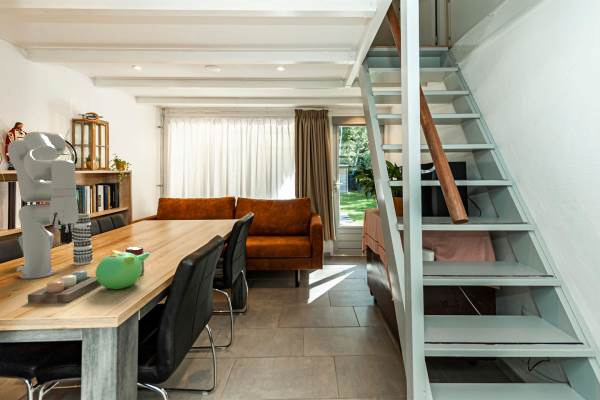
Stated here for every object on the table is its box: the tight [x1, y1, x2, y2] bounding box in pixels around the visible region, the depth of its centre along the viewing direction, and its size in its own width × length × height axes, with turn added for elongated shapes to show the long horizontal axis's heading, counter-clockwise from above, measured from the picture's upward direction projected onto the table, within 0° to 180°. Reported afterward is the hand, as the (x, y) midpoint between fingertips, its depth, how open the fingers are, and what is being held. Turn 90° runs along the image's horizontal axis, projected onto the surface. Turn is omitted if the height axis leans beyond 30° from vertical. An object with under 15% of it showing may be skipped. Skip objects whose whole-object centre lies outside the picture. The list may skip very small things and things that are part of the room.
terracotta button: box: [46, 279, 64, 294], centre depth 125 cm, size 5×5×4 cm
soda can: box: [124, 246, 145, 276], centre depth 155 cm, size 7×7×12 cm
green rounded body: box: [95, 249, 151, 290], centre depth 137 cm, size 18×17×15 cm
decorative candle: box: [72, 213, 94, 266], centre depth 178 cm, size 9×9×25 cm
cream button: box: [59, 274, 77, 287], centre depth 132 cm, size 5×5×4 cm
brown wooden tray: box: [27, 275, 102, 304], centre depth 132 cm, size 14×22×3 cm, turn 1°
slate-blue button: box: [71, 269, 88, 282], centre depth 138 cm, size 5×5×4 cm
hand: (66, 242), depth 131 cm, fingers closed
